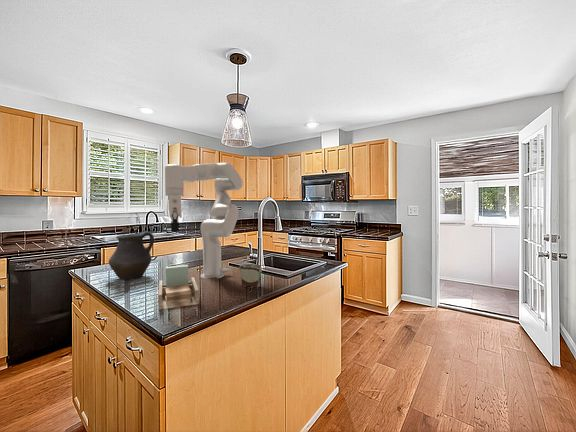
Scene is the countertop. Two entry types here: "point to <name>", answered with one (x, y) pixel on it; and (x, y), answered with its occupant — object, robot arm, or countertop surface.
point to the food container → (250, 275)
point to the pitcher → (131, 256)
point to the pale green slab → (177, 275)
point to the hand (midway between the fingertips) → (175, 230)
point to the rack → (193, 301)
